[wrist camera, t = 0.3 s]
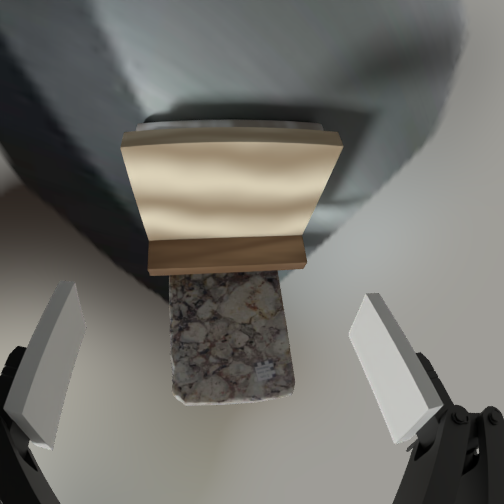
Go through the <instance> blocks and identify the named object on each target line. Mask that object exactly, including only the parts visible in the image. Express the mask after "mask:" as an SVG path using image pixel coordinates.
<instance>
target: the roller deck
mask: <svg viewBox="0 0 504 504" xmlns="http://www.w3.org/2000/svg"><path fill="white" fill-rule="evenodd" d="M342 149H343V144H342V141H341V139H340V136H339V134H338V132H333V131H324V130H323V127H322V125H321V124H320V123H309V122H294V121H274V120H186V121H166V122H152V123H139V124H138V125H137V128H136V131H133V132H124V135H123V139H122V143H121V151H122V155H123V158H124V162H125V165H126V169H127V172H128V176H129V179H130V183H131V186H132V189H133V193H134V196H135V199H136V202H137V205H138V208H139V212H140V215H141V218H142V221H143V224H144V227H145V230H146V233H147V236H148V239H149V254H148V271H149V273H150V275H151V276H156V275H183V274H208V273H231V272H252V271H272V270H291V269H303V268H304V267H305V265H306V264H307V259H306V253H305V248H304V243H303V238H302V234H303V232H304V230H305V228H306V226H307V224H308V222H309V220H310V218H311V215H312V213H313V211H314V209H315V207H316V205H317V203H318V201H319V199H320V196H321V194H322V192H323V190H324V188H325V186H326V184H327V181H328V179H329V177H330V175H331V173H332V171H333V168H334V166H335V164H336V162H337V160H338V157H339V155H340V153H341V151H342Z"/></svg>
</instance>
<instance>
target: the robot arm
mask: <svg viewBox="0 0 504 504" xmlns="http://www.w3.org/2000/svg"><path fill="white" fill-rule="evenodd" d="M86 328H87V327H86V323H85V320H84V316H83V313H82V309H81V305H80V301H79V296H78V292H77V288H76V284H75V282H69V281H60V282H59V284H58V286H57V287H56V289H55V291H54V293H53V295H52V297H51V299H50V301H49V303H48V305H47V307H46V309H45V311H44V313H43V315H42V317H41V319H40V321H39V323H38V325H37V327H36V329H35V331H34V334H33V335H32V338H31V340H30V342H29V344H28V347H27V348H26V347H20V346H17V347H16V348H15V349H14V350H13V351H12V353H10V354H9V357H8V359H7V361H6V363H5V367H4V368H3V370H2V372H1V376H0V504H60V502H59V501H58V499H57V497H56V496H55V494H54V493H53V491H52V489H51V487H50V486H49V484H48V482H47V480H46V479H45V477H44V475H43V473H42V472H41V470H40V468H39V466H38V464H37V462H36V460H35V458H34V456H33V454H32V452H31V450H30V449H29V447H28V444H29V440H31V441H32V442H33V444H34V445H35V446H38V447H42V448H45V449H49V450H53V447H54V442H55V437H56V433H57V428H58V424H59V420H60V415H61V411H62V407H63V404H64V400H65V396H66V392H67V389H68V385H69V382H70V378H71V374H72V371H73V368H74V364H75V361H76V358H77V355H78V352H79V349H80V346H81V343H82V339H83V337H84V334H85V331H86ZM348 336H349V338H350V340H351V342H352V344H353V347H354V349H355V351H356V353H357V356H358V358H359V360H360V363H361V365H362V367H363V369H364V372H365V374H366V376H367V379H368V381H369V383H370V386H371V388H372V391H373V393H374V395H375V398H376V400H377V402H378V405H379V407H380V410H381V412H382V414H383V417H384V419H385V422H386V424H387V427H388V429H389V432H390V434H391V437H392V439H393V442H394V444H397V443H401V442H404V441H408V440H409V439H410V438H411V437H412V436H414V434H417V436H418V439H417V440H416V441H415V442H414V443H412V444H411V445H410V446H409V447H408V448H407V450H406V451H407V452H408V451H410V450H411V449H412V448H413V450H412V452H411V456H410V459H409V462H408V465H407V468H406V471H405V474H404V476H403V479H402V481H401V484H400V486H399V489H398V492H397V494H396V496H395V499H394V501H393V504H504V419H503V416H502V414H501V412H500V411H499V410H498V409H497V408H495V407H493V406H488V407H487V408H485V409H484V410H483V411H482V412H481V413H468V412H467V411H466V409H465V408H463V407H462V406H459V405H454V404H453V402H452V401H451V399H450V397H449V395H448V393H447V392H446V390H445V388H444V386H443V384H442V382H441V381H440V379H439V378H438V375H437V374H436V372H435V371H434V369H433V367H432V365H431V363H430V361H429V360H428V359H427V358H426V357H425V356H424V355H423V354H422V353H421V352H420V353H415V352H414V350H413V348H412V347H411V345H410V343H409V341H408V340H407V338H406V336H405V335H404V333H403V331H402V330H401V328H400V326H399V325H398V323H397V322H396V320H395V319H394V317H393V315H392V313H391V312H390V310H389V309H388V307H387V305H386V304H385V302H384V300H383V299H382V297H381V296H380V294H379V293H370V294H369V293H368V294H367V293H366V294H365V296H364V299H363V301H362V304H361V306H360V308H359V311H358V313H357V315H356V318H355V320H354V322H353V324H352V327H351V329H350V331H349V333H348ZM478 448H479V454H477V452H476V449H478ZM1 501H2V503H1Z"/></svg>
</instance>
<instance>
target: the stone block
mask: <svg viewBox="0 0 504 504" xmlns="http://www.w3.org/2000/svg"><path fill="white" fill-rule="evenodd" d="M169 304H170V307H169V310H170V311H169V313H170V340H171V341H170V347H171V354H170V355H171V364H172V375H173V379H172V381H173V385H172V391H173V395H174V396H175V397H176V399H177V400H179V401H181V402H182V403H183V404H184V405H186V406H193V405H221V404H237V403H238V404H239V403H252V402H260V401H266V400H272V399H277V398H282V397H286V396H291V395H292V394H293V390H294V385H295V378H294V371H293V366H292V359H291V353H290V344H289V338H288V332H287V325H286V319H285V314H284V308H283V302H282V296H281V289H280V283H279V277H278V271H277V270H272V271H252V272H231V273H208V274H183V275H169Z"/></svg>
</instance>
